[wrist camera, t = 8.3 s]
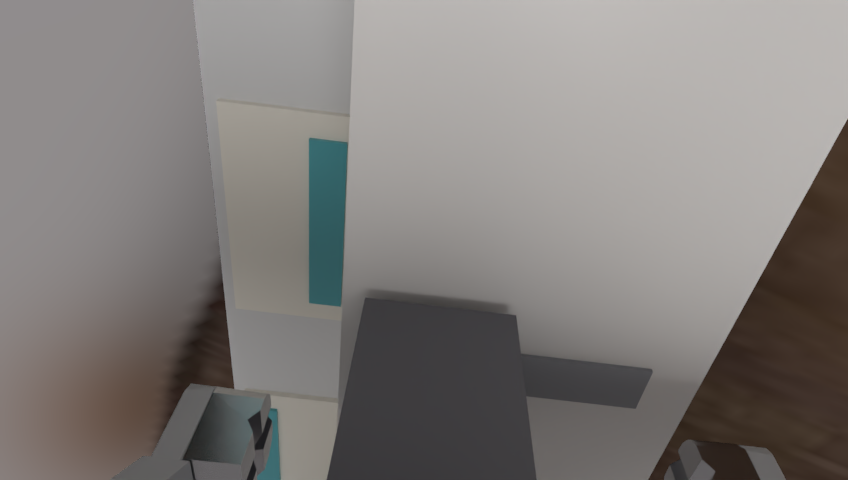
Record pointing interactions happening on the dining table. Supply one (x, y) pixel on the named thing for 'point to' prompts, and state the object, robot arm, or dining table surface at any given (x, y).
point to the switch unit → (510, 193)
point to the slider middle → (434, 397)
